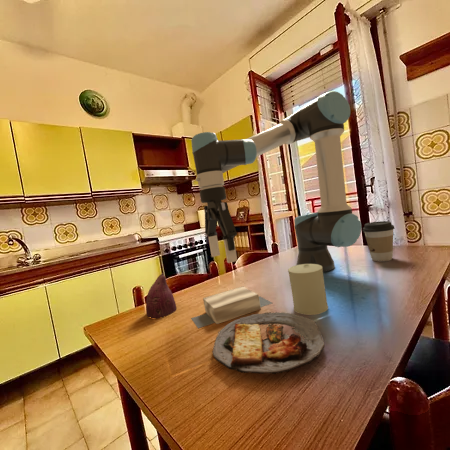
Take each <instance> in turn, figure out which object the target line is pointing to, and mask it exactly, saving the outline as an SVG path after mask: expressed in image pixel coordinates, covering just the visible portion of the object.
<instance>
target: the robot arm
mask: <svg viewBox="0 0 450 450" xmlns="http://www.w3.org/2000/svg"><path fill="white" fill-rule="evenodd" d="M350 106H351V105H350V104H349V101H348V99H347V98H346V97H345V96H344V95H343V94H342V93H340V92H338V91H336V90H335V91H334V90H331V91H327V92H325V93H323V94H320V95H319V96H317V98H315V99H314V100H312V101H310V102H309V103H307V104H305V105H304V106H303V107H301V108H299V109H298V110H296V111H295V112H294V113H293V114H291V115H289V116H288V117H286V118H284V119H282V120H280V121H279V123H278V124H277V125H275V126H273V127H270V128H267V129H266V130H264V131H261V132H259V133H257V134H256V133H255V134H254V135H252V136H250V137H248V138H244V139H243V138H241V139H229V140H228V139H227V140H221V139H220V140H218V137H217V134H216V133H215V132H211V131H205V132H200V133H197V134H195V135H193V137H192V138H191V149H192V156H193V161H194V167H195V172H196V178H195V182H197V183H198V188H199V189H200V190H199V197H200V202H201V203H202V204H206V203H207V204H206V205H204V206H203V210H204V234H205V235H207V237H208V242H209V243H208V244H209V248H210V254H211V255H210V257H211V258H214V257H218V256H221V253H220V252H221V251H220V246H219V241H218V240H219V239H218V233H217V224H218V226H219V229H220V231H221V232H222V235H223V237H222V241H223V244H224V249H225V257H226V262H227V263H228V264H230V263H235V262H238V257H237V249H236V244H235V236H237V235H238V233H237V230H236V226H235V223H234V222H233V218H232V216H231V213H230V210H229V205H228V203H227V201H225V200H227V194H226V188H225V187H224V185H225V181H224V173H225V172H227V171H230V170H232V169H234V168H237V167H239V166H247V165H251V164H254V162H256V159H257V158H258V157H260V156H261V155H264V154H266V153H267V152H271V151H272V150H274V149H277V148H278V147H281V146H283V145H291V144H293V143H295V142H299V141H301V140H305V139H310V140H311V141H313V142H314V148H315V156H316V157H315V159H316V167H317V176H318V188H319V198H320V208H319V209H318V210H317V211H316V212H311V213H308V214H303V215H298V216H296V217H294V233H295V237H296V243H297V250H298V253H297V261H296V264H295V266H296V265H301V264H318V265H321V266H322V269H323V273H325V272H329V271H333V269H335V267H336V266H335V260H334V259H333V257H332V255H331V253H330V251H329V247H334V248H335V247H337V248H342V247H343V248H347V247H351V246H353V245H354V244H355V243H356V242H357V241H358V239H360V237H361V233H362V222H361V220H360V218H359V216H357V215H356V214H354V213H353V208H352V207H351V206H350V205H348V203H347V194H346V184H345V172H344V163H343V162H344V161H343V153H342V144H341V143H342V141H341V136H342V135H343V134H344V132H345V125H344V124H345V123H346V122H347V121H348V120H349V119H350V117H351V107H350ZM223 201H224V202H223Z"/></svg>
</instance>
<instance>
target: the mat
mask: <svg viewBox="0 0 450 450" xmlns="http://www.w3.org/2000/svg"><path fill="white" fill-rule="evenodd" d="M259 301H260V307H261V308H263V307H265V306H269V305H271V304H273V302H272V301H271V300H269V299H266V298H264V297H262V296H260V295H259ZM190 319H191V321H192V322H193V323H194V324H195V326H196V328H197V329H200V328H203V327H204V328H205V327H206V326H210V325H212V324H216V323H215V322H214V321H213V320H212V319H211V317H210V316H209V315H208V314H207V313H206V312H205V313H203V314H200V315H197V316H194V317H191V318H190Z"/></svg>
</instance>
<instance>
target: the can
mask: <svg viewBox="0 0 450 450" xmlns="http://www.w3.org/2000/svg"><path fill="white" fill-rule="evenodd" d="M287 272H288V275H289V281H290V283H289V284H290V289H291V296H292V301H293V302H292V303H293V310H294V312H296V313H298V314H299V315H300V314H301V315H306V316H309V315H311V316H315V315H320V314H323V313H325V312H326V311H328V309H329V305H328V301H327V300H328V299H327V293H326V286H325V278H324V272H323V269H322V266H321V265H318V264H301V265H296V264H295V265H293V266H290V267H289V268H288V269H287Z"/></svg>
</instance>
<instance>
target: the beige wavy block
mask: <svg viewBox="0 0 450 450" xmlns="http://www.w3.org/2000/svg"><path fill="white" fill-rule="evenodd" d="M259 296H260V295H259V293H257V292H255V291H253V290H251V289H249V288H247V287H245V286H239V287H236V288H233V289H229V290H227V291H226V290H225V291H223V292H220V293H219V292H218V293H216V294H212V295H209V296H206V297H203V298H202V299H203V306H204V311H205V314H206V313H207V314H208V315H209V316H210V317H211V319H212V320H213V321H214V322H215V323H214V324H216V325H219V324H220V323H221V324H222V323H223V322H224V323H225V322H227V321H231V320H233V319H236V318H239V317H242V316H245V315H249V314H250V313H254V312H256V311H260V310H261V309H262V307H260V301H259Z"/></svg>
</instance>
